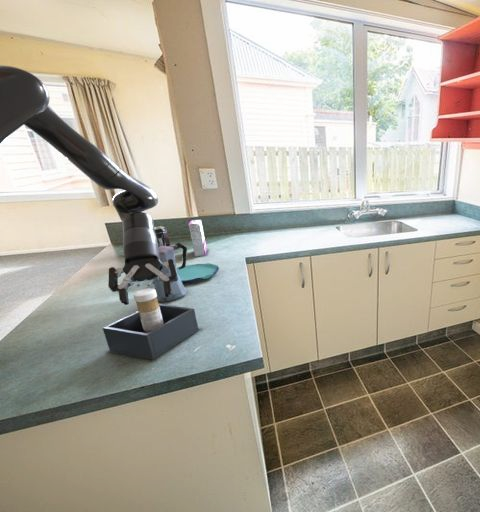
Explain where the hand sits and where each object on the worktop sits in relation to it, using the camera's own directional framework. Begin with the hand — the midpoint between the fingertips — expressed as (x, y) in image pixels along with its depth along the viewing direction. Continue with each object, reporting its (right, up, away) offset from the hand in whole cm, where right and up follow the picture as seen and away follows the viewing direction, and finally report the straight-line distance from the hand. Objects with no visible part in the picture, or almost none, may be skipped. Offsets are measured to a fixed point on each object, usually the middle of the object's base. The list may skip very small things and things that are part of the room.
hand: (147, 299), depth 77 cm
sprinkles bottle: (+1, -11, +2) cm, 11 cm away
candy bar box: (-33, +13, +75) cm, 83 cm away
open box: (+1, -11, +2) cm, 11 cm away
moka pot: (-14, -3, +28) cm, 31 cm away
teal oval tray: (-23, +2, +44) cm, 49 cm away
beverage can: (-56, +15, +80) cm, 99 cm away
